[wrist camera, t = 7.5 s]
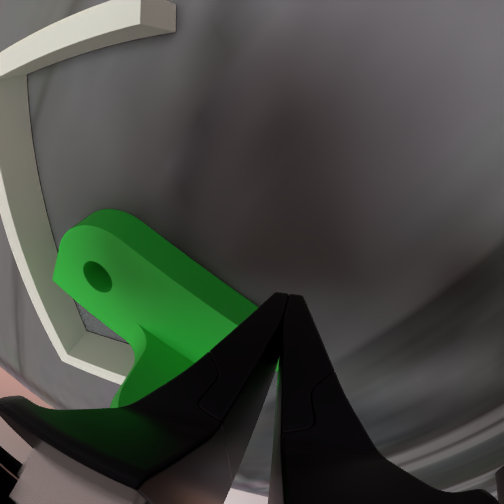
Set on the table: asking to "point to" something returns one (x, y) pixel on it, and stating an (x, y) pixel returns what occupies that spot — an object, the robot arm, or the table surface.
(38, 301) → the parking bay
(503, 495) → the mug
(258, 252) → the table surface
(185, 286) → the mechanical part
